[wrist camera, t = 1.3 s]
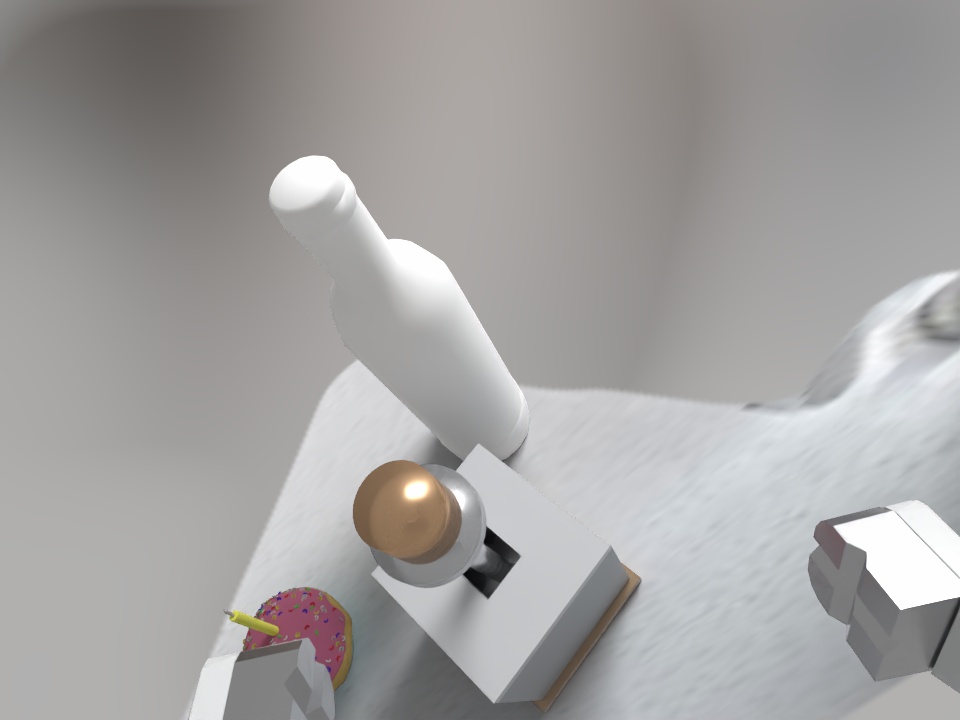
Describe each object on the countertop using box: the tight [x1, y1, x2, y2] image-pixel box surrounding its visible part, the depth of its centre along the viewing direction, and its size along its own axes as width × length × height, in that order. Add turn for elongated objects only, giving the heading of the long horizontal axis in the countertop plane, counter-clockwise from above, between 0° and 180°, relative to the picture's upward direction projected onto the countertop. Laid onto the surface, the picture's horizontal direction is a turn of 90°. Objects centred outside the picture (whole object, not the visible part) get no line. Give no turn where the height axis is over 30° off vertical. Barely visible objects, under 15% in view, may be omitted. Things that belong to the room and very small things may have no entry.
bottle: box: [269, 156, 530, 461], centre depth 41 cm, size 8×8×30 cm
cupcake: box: [224, 587, 353, 691], centre depth 43 cm, size 9×8×12 cm
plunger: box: [353, 460, 521, 599], centre depth 32 cm, size 8×8×18 cm
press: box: [371, 443, 641, 712], centre depth 40 cm, size 11×11×13 cm
